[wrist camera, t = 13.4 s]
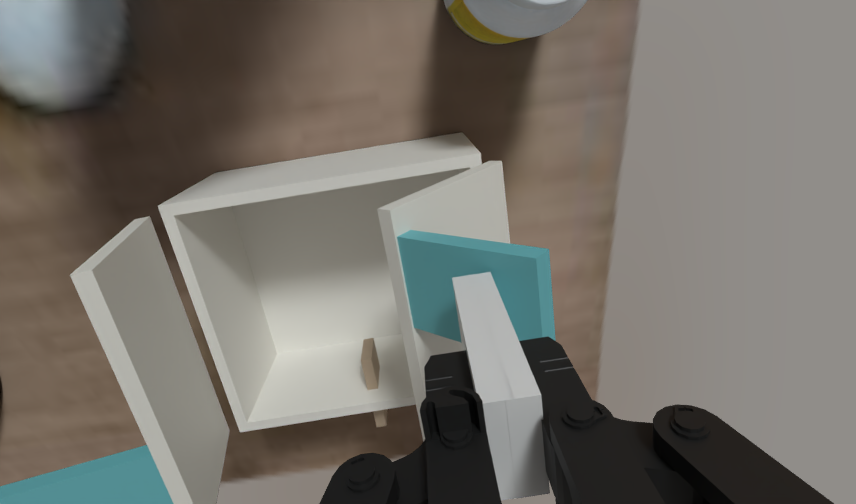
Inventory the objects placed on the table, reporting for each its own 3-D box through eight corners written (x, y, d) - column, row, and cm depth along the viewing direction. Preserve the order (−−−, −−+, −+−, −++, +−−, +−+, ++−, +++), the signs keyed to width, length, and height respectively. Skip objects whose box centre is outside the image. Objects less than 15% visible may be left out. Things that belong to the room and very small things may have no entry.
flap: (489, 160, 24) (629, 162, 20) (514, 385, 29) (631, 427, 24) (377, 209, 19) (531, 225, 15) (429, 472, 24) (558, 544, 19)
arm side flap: (229, 430, 29) (106, 466, 28) (149, 216, 24) (-4, 247, 23) (209, 541, 22) (43, 594, 21) (91, 270, 17) (-133, 319, 16)
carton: (281, 382, 37) (250, 461, 30) (215, 172, 32) (157, 205, 24) (489, 349, 37) (511, 420, 30) (462, 132, 32) (480, 153, 24)
